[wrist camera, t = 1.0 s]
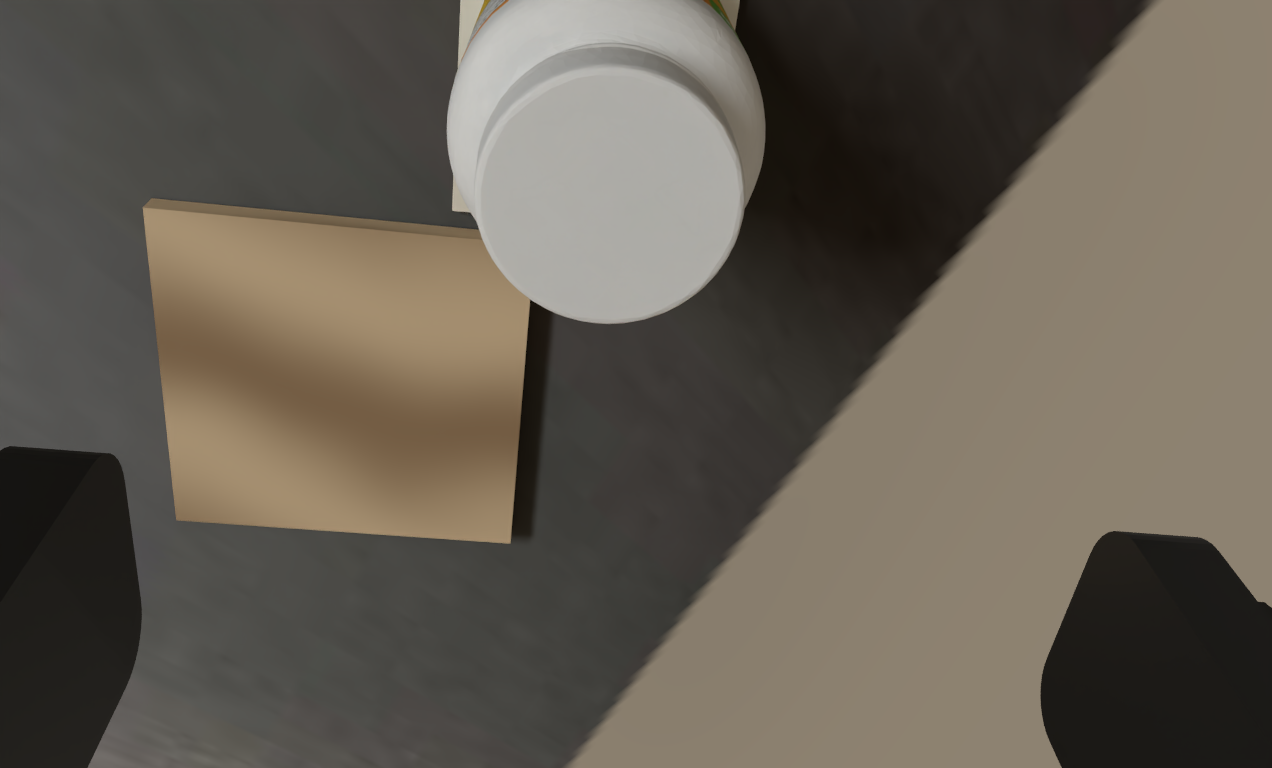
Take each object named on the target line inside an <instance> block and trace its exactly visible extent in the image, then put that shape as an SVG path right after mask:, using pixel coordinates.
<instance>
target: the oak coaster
mask: <svg viewBox="0 0 1272 768" xmlns="http://www.w3.org/2000/svg"><path fill="white" fill-rule="evenodd" d="M143 213H144V223H145V232H146V241H147V251H148V260H149V269H150V279H151V288H152V297H153V307H154V316H155V325H156V335H157V344H158V353H159V363H160V372H161V381H162V391H163V400H164V410H165V419H166V428H167V438H168V447H169V456H170V466H171V475H172V484H173V494H174V503H175V512H176V520H180V521H195V522H209V523H223V524H237V525H252V526H266V527H280V528H295V529H309V530H323V531H338V532H352V533H366V534H381V535H395V536H409V537H424V538H438V539H452V540H467V541H481V542H495V543H510V542H511V531H512V519H513V506H514V494H515V482H516V469H517V457H518V444H519V432H520V420H521V407H522V395H523V383H524V370H525V358H526V345H527V333H528V321H529V308H530V299H529V298H528V297H526V296H525V295H524V294H523V293H521V292H520V291H519V290H518V289H517V288H516V287H515V286H514V285H513V284H512V283H511V282H509V281H508V280H507V278H506V277H505V276H504V275H503V273H502V272H501V271H500V270H499V268H498V267H497V265H496V264H495V263H494V261H493V260H492V258H491V256H490V254H489V252H488V251H487V249H486V246H485V244H484V242H483V240H482V237H481V234H480V231H479V230H476V229H466V228H456V227H445V226H435V225H424V224H414V223H404V222H393V221H383V220H372V219H362V218H352V217H341V216H331V215H321V214H310V213H300V212H289V211H279V210H269V209H258V208H248V207H237V206H227V205H217V204H206V203H196V202H185V201H175V200H165V199H154V198H151V199H150V201H149V202H148V203H147V204H146V205H145V206H144V207H143Z"/></svg>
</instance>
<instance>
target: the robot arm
mask: <svg viewBox="0 0 1272 768" xmlns="http://www.w3.org/2000/svg"><path fill="white" fill-rule="evenodd" d="M141 620H142V607H141V597H140V590H139V582H138V575H137V568H136V560H135V553H134V546H133V538H132V531H131V524H130V516H129V509H128V502H127V494H126V487H125V480H124V475H123V471H122V468H121V465H120V463H119V461H118V459H117V458H116V457H115V456H114V455H112V454H109V453H95V452H82V451H68V450H55V449H42V448H28V447H15V446H9V447H6V448H4V449H2V450H1V451H0V768H87V767H88V765H89V763H90V761H91V759H92V757H93V755H94V753H95V751H96V749H97V747H98V744H99V742H100V740H101V738H102V736H103V734H104V732H105V730H106V728H107V726H108V724H109V721H110V719H111V717H112V715H113V713H114V711H115V709H116V707H117V705H118V703H119V701H120V699H121V696H122V694H123V692H124V690H125V688H126V686H127V684H128V681H129V679H130V676H131V673H132V670H133V667H134V664H135V660H136V656H137V651H138V646H139V640H140V632H141ZM1041 709H1042V716H1043V722H1044V726H1045V729H1046V733H1047V735H1048V738H1049V741H1050V743H1051V745H1052V747H1053V749H1054V752H1055V754H1056V756H1057V758H1058V760H1059V763H1060V765H1061V767H1062V768H1272V608H1271V607H1270V606H1268V605H1267V604H1266V603H1264V602H1257V600H1256V599H1255V598H1254V596H1253V595H1252V594H1251V593H1250V591H1249V590H1248V589H1247V587H1246V586H1245V585H1244V583H1243V582H1242V581H1241V580H1240V578H1239V577H1238V576H1237V574H1236V573H1235V572H1234V570H1233V569H1232V568H1231V567H1230V565H1229V564H1228V563H1227V561H1226V560H1225V559H1224V557H1223V556H1222V555H1221V554H1220V552H1219V551H1218V550H1217V549H1216V548H1215V547H1214V546H1213V545H1212V544H1211V543H1209V542H1208V541H1206V540H1204V539H1202V538H1198V537H1186V536H1173V535H1159V534H1146V533H1145V534H1144V533H1132V532H1119V531H1113V532H1109V533H1107V534H1105V535H1104V536H1102V537H1101V538H1100V539H1099V540H1098V542H1097V543H1096V544H1095V546H1094V548H1093V550H1092V552H1091V554H1090V556H1089V558H1088V561H1087V563H1086V566H1085V568H1084V570H1083V573H1082V575H1081V578H1080V580H1079V582H1078V585H1077V587H1076V590H1075V592H1074V594H1073V597H1072V599H1071V602H1070V604H1069V607H1068V609H1067V611H1066V614H1065V616H1064V619H1063V621H1062V623H1061V626H1060V628H1059V631H1058V633H1057V635H1056V638H1055V640H1054V643H1053V645H1052V648H1051V650H1050V652H1049V655H1048V657H1047V660H1046V663H1045V666H1044V670H1043V674H1042V681H1041Z"/></svg>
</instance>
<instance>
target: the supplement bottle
mask: <svg viewBox="0 0 1272 768" xmlns="http://www.w3.org/2000/svg"><path fill="white" fill-rule="evenodd" d="M447 142H448V153H449V158H450V163H451V167H452V171H453V174H454V178H455V181H456V184H457V187H458V189H459V191H460V194H461V196H462V198H463V200H464V202H465V204H466V206H467V207H468V209H469V211H470V212H471V214H472V216H473V217H474V218H475V220H476V221H477V224H478V227H479V231H480V234H481V237H482V240H483V242H484V244H485V246H486V249H487V251H488V252H489V254H490V256H491V258H492V260H493V261H494V263H495V264H496V265H497V267H498V268H499V270H500V271H501V272H502V273H503V275H504V276H505V277H506V278H507V280H508V281H509V282H511V283H512V284H513V285H514V286H515V287H516V288H517V289H518V290H519V291H520V292H521V293H523V294H524V295H525V296H526V297H528V298H529V299H530V300H532V301H533V302H535V303H537V304H539V305H540V306H542V307H544V308H545V309H547V310H549V311H552V312H554V313H556V314H559V315H562V316H565V317H568V318H572V319H576V320H579V321H585V322H591V323H603V324H617V323H627V322H633V321H639V320H644V319H647V318H650V317H653V316H656V315H659V314H662V313H664V312H667V311H669V310H671V309H673V308H675V307H677V306H679V305H680V304H682V303H683V302H685V301H686V300H688V299H689V298H691V297H692V296H694V295H695V294H696V293H698V292H699V291H700V290H701V289H703V288H704V287H705V286H706V284H707V283H708V282H709V281H710V280H711V279H712V278H713V277H714V276H715V275H716V274H717V272H718V271H719V270H720V268H721V267H722V265H723V264H724V262H725V261H726V259H727V258H728V256H729V254H730V252H731V250H732V248H733V246H734V244H735V242H736V240H737V237H738V234H739V231H740V228H741V224H742V220H743V216H744V209H745V207H746V205H747V203H748V202H749V199H750V197H751V194H752V192H753V190H754V187H755V184H756V182H757V179H758V176H759V173H760V170H761V166H762V161H763V156H764V147H765V114H764V106H763V100H762V96H761V91H760V87H759V84H758V81H757V77H756V75H755V72H754V70H753V67H752V65H751V62H750V59H749V57H748V55H747V53H746V51H745V49H744V47H743V45H742V44H741V42H740V40H739V38H738V36H737V34H736V32H735V30H734V28H733V26H732V24H731V22H730V20H729V18H728V16H727V14H726V12H725V10H724V8H723V6H722V4H721V2H720V0H484V3H483V5H482V8H481V11H480V13H479V16H478V18H477V21H476V23H475V26H474V29H473V31H472V34H471V37H470V39H469V42H468V45H467V47H466V50H465V53H464V55H463V57H462V59H461V63H460V65H459V68H458V71H457V74H456V76H455V81H454V85H453V88H452V92H451V97H450V102H449V108H448V116H447Z"/></svg>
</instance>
